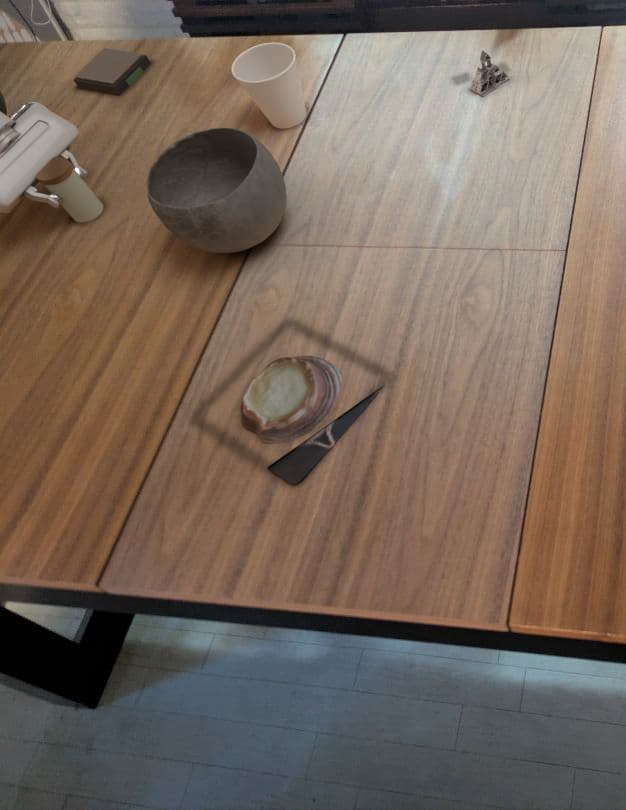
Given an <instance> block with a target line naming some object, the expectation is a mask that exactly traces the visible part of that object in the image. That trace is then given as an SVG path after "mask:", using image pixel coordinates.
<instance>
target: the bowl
mask: <svg viewBox="0 0 626 810" xmlns="http://www.w3.org/2000/svg"><path fill="white" fill-rule="evenodd" d="M146 177H147V178H146V184H145V185H146V195H147V199H148V203H149V205H150V206H151V208H152V210H153V212H154V213H155V215H156V216H157V218H158V219H159V221H160V222H161V223H162V224H163V226H164V228H166V230H168V231H169V232H170V233H171V234H172V235H173V236H175V237H176V238H177V239H179V240H180V241H182V242H183V243H186V244H188V245H189V246H191V247H194V248H196V249H198V250H201V251H203V252H208V253H212V254H213V253H215V254H233V253H241V252H243V251H246V250H249V249H251V248H253V247H256V246H257V245H259V244H261V243H262V242H264V241H265V240H266V239H268V238H269V237H270V236H271V235H272V234H273V233H274V232H275V231H276V229H277V228H278V227H279V225H280V223H281V222H282V219H283V217H284V214H285V210H286V207H287V198H288V197H287V187H286V186H287V185H286V182H285V178H284V174H283V173H282V170H281V168H280V166H279V163H278V162H277V160H276V159H275V158H274V156H273V154H272V153H271V152H270V151H269V149H268V148H267V147H266V146H265V145H264V144H263V143H262V142H261V141H259V140H258V139H257V138H256V137H254V136H253V135H251V134H250V133H248V132H246V131H244V130H241V129H239V128H238V129H237V128H232V127H231V128H230V127H214V128H208V129H204V130H200V131H196V132H193V133H190V134H188V135H186V136H183V137H181V138H180V139H178V140H176V141H175V142H174V143H173V144H172V145H171V146H169V147H167V148H166V149H165V150H164V151H162V153H161V154H160V155H159V156H158V157H157V158H156V160H155V161H154V162H153V163H152V164H151V166H150V168H149V170H148V174H147V176H146Z"/></svg>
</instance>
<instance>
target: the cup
mask: <svg viewBox="0 0 626 810" xmlns="http://www.w3.org/2000/svg"><path fill="white" fill-rule="evenodd" d="M230 70H231V75H232V76H233V78H234V79H235V80H237V82H238V83H239V84H240V85H241V87H242V88H243V90H245V92H246V93H247V94H248V96H249V98H251V100H252V101H253V102H254V103H255V105H256V106H257V107H258V108H259V110H260V111H261V112H262V113H263V115H264V116H265V118H266V119H267V120H268V121H269V122H270V124H271V125H272V126H273V127H274V128H276V129H281V130H282V129H283V130H284V129H290V128H294V127H296V126H299V124H301V123H302V122H303V121H304V120H305V118H306V117H307V107H306V104H305V103H306V102H305V98H304V93H303V87H302V83H301V78H300V77H301V76H300V72H299V67H298V63H297V55H296V51H295V49H293V48H292V47H291V45H288V44H286V43H282V42H272V41H271V42H263V43H260V44H257V45H255V46H251V47H249V48H248V49H245V50H244V51H242V52H241V53H240V54H239V55H238V56H237V57H236V58H235V59H234V60H233V62H232V64H231V68H230Z"/></svg>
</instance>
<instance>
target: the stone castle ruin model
mask: <svg viewBox="0 0 626 810" xmlns="http://www.w3.org/2000/svg"><path fill="white" fill-rule="evenodd" d="M491 59H492V57H491V56H490V55H489V53H487V52H486V51H484V50H481V53H480V57H479V61H480V63H481V67H479V66H477V68H476V73H475V77H473V78H472V81H471V86H470V88H469V89H470V90H471V91H472V92H474V93H475V94H476V95H480V97H483V98H485V96H486V95H488V94H489V93H491V92H492V91H494V90H496V89H497V88H498V87H499V86H501V85H502V84H504V83H506V82H508V81H509V80H511V77H510V76H508V75H507V74H506V73H505V72H504V70H502V69H500V68H499V67H498V66H497V65H496V64H495V63H494V62H492V61H491Z"/></svg>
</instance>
